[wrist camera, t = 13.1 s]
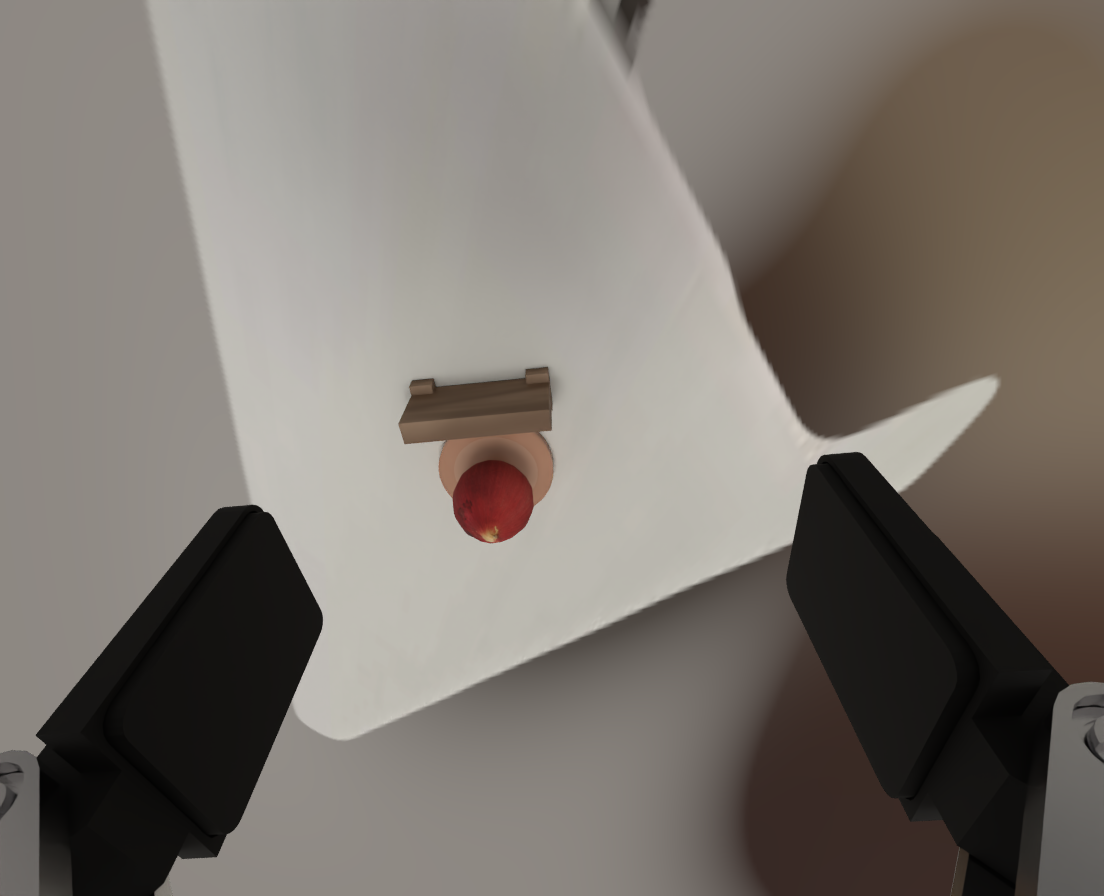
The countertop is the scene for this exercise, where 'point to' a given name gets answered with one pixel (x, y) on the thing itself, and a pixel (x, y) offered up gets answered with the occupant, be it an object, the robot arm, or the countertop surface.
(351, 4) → the countertop surface
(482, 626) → the countertop surface
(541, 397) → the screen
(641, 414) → the countertop surface
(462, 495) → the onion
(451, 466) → the plate
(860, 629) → the robot arm
